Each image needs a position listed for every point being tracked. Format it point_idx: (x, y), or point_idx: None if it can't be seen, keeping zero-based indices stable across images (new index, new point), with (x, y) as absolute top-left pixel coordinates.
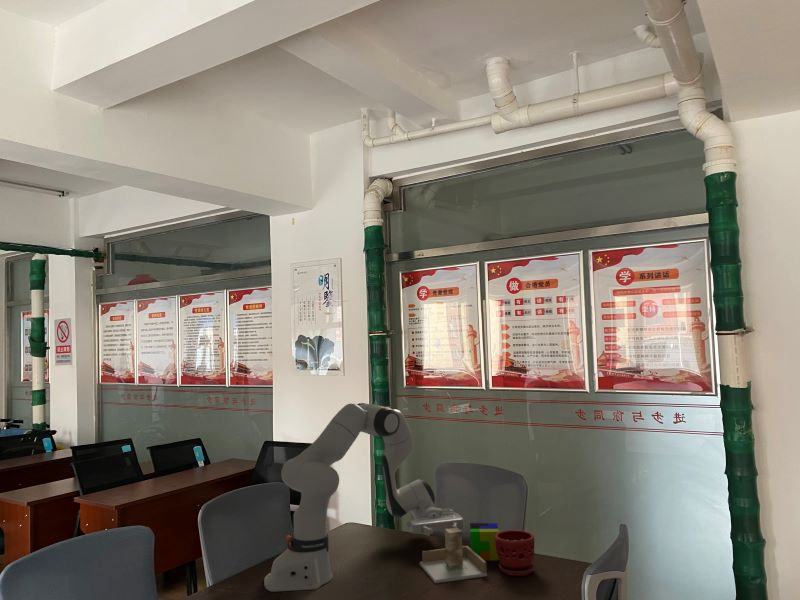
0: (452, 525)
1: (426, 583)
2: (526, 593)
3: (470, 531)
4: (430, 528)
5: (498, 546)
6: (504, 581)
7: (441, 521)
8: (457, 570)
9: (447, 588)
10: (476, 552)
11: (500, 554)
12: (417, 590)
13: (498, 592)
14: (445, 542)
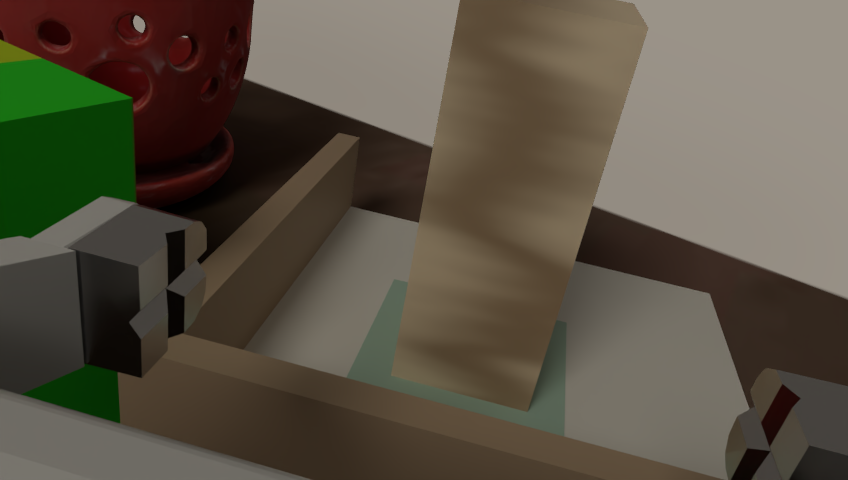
0: (123, 263)
1: (765, 337)
2: (319, 106)
3: (118, 100)
4: (832, 425)
5: (248, 8)
6: (299, 163)
7: (263, 475)
8: None
9: (639, 251)
10: None
11: (247, 59)
12: (832, 311)
13: (416, 145)
14: (593, 195)
